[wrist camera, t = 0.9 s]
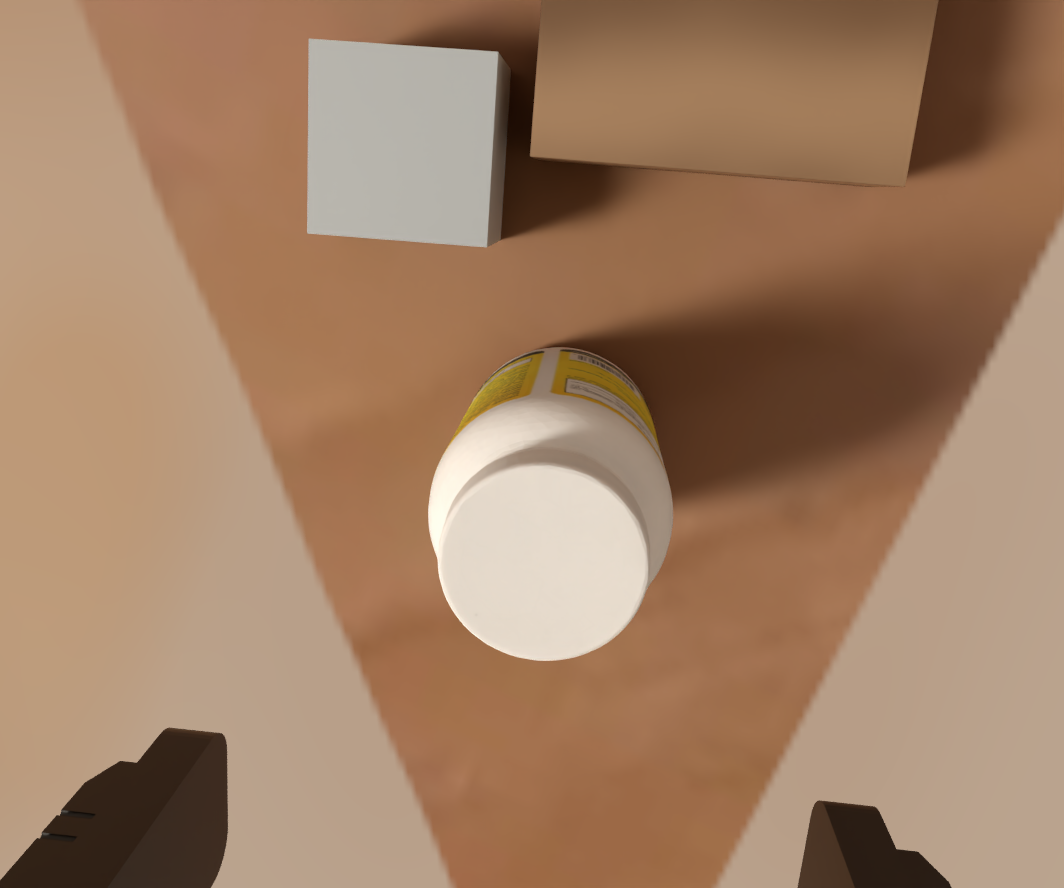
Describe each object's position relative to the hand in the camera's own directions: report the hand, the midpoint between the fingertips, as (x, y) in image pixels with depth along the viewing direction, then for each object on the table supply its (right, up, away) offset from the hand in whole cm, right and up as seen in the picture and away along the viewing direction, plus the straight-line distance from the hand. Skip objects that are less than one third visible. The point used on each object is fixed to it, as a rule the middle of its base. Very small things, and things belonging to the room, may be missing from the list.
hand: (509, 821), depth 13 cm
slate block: (-3, +14, +16) cm, 22 cm away
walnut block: (+6, +18, +14) cm, 24 cm away
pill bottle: (+1, +5, +18) cm, 19 cm away
